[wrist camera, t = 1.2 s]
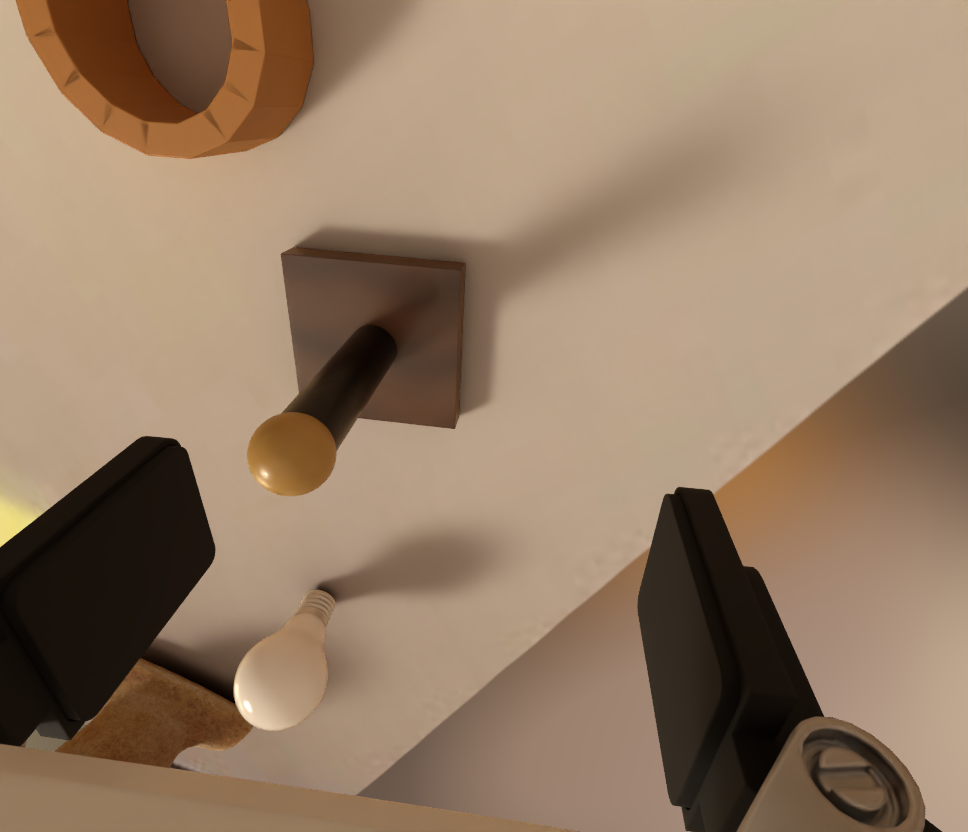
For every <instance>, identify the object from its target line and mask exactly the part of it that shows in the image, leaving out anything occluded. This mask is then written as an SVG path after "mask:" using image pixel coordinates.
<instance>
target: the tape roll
mask: <svg viewBox="0 0 968 832" xmlns="http://www.w3.org/2000/svg"><path fill="white" fill-rule="evenodd" d="M16 3H17V6H18V10H19V13H20V16H21V19H22V23H23V26H24V29H25V32H26V36H27V37H28V39H29V41H30V43H31V44H32V46H33V48H34V49H35V51H36V53H37V54H38V56H39V57H40V59H41V61H42V62H43V64H44V66H45V67H46V69H47V71H48V72H49V74H50V75H51V77H52V79H53V80H54V82H55V84H56V85H57V87H58V89H59V90H60V91H61V93H62V94H63V95H64V96H65V97H66V98H67V99H68V100H69V101H70V102H71V103H72V104H73V105H74V106H75V107H76V108H77V109H78V110H79V111H81V112H82V113H83V114H84V115H85V116H86V117H87V118H88V119H89V120H90V121H91V122H92V123H93V124H94V125H95V126H96V127H97V128H98V129H99V130H100V131H101V132H103V133H105V134H107V135H109V136H111V137H113V138H115V139H117V140H118V141H120V142H122V143H124V144H126V145H128V146H130V147H132V148H134V149H136V150H138V151H140V152H142V153H144V154H146V155H150V156H162V157H175V158H187V159H192V158H199V157H206V156H214V155H221V154H228V153H235V152H243V151H247V150H250V149H252V148H254V147H257V146H259V145H261V144H264V143H266V142H268V141H270V140H273V139H275V138H277V137H278V136H279V135H280V134H281V133H282V132H283V130H284V129H285V128H286V127H287V125H288V124H289V123H290V122H291V120H292V119H293V118H294V116H295V115H296V114H297V113H298V111H299V110H300V109H301V108H302V105H303V102H304V98H305V94H306V90H307V86H308V82H309V78H310V74H311V71H312V67H313V62H314V59H313V47H312V35H311V23H310V11H309V7H308V4H307V2H306V0H226V3H227V10H228V17H229V24H230V31H231V37H232V48H231V53H230V59H229V64H228V70H227V75H226V80H225V83H224V85H223V86H222V88H221V89H220V90H219V92H218V93H217V95H216V96H215V98H214V99H213V101H212V102H211V103H210V105H209V106H208V108H207V109H206V110H205V111H203V112H201V113H196V112H194V111H192V110H190V109H188V108H186V107H184V106H182V105H181V104H179V103H178V102H177V101H176V100H175V99H174V98H173V97H172V95H171V94H170V93H169V92H168V91H167V90H166V89H165V88H164V87H163V86H162V85H161V84H160V83H159V82H158V81H157V80H156V79H155V78H154V76H153V74H152V72H151V71H150V69H149V67H148V65H147V63H146V61H145V59H144V57H143V56H142V54H141V52H140V50H139V48H138V46H137V44H136V40H135V35H134V31H133V26H132V22H131V17H130V13H129V8H128V0H16Z"/></svg>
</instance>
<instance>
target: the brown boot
mask: <svg viewBox="0 0 968 832" xmlns="http://www.w3.org/2000/svg"><path fill="white" fill-rule="evenodd" d="M252 727H253V725H251V724H250V723H249V722H247V721H246V720H245V719H244V718H243V716H242V715H241V714H240V712H239V710H238V708H237V706H236V704H234V703H232V702H230V701H229V700H227V699H225V698H224V697H222V696H220V695H218V694H216V693H214V692H212V691H210V690H208V689H206V688H204V687H203V686H201V685H198V684H196V683H194V682H192V681H190V680H188V679H186V678H184V677H182V676H180V675H178V674H175V673H173V672H171V671H169V670H167V669H165V668H163V667H160V666H158V665H155V664H153V663H150V662H148V661H146V660H144V659H141V658H140V659H139V660H138V662H137V663H136V664H135V666H134V667H133V668H132V670H131V671H130V672H129V674H128V675H127V676H126V678H125V679H124V680H123V682H122V683H121V684H120V686H119V687H118V688H117V690H116V691H115V692H114V693H113V695H112V696H111V697H110V699H109V700H108V701H107V703H106V704H105V706H104V707H103V709H102V710H101V711H100V712H99V713H98V714H97V716H96V717H95V718H94V719H93V720H92V721H91V722H90V723H89V724H88V725H86V726H85V727H84V728H83V729H82V730H81V731H79V732H78V733H77V734H75V736H74V737H73V738H72V740H68V741H66V742H65V743H64V744H63V745H62V746H60V747H59V748H58V749H57V750H56V751H54V752H60V753H67V754H74V755H81V756H88V757H95V758H102V759H109V760H116V761H123V762H130V763H137V764H144V765H151V766H158V767H165V768H170V766H171V765H172V763H173V761H174V759H175V758H176V756H177V755H178V754H179V753H180V752H181V751H183V750H185V749H187V748H188V747H193V746H198V747H202V748H205V749H209V750H220V751H222V750H226V749H229V748H231V747H233V746H235V745H236V744H237V743H238V742H239V741H241V740H242V739H243V738H244V737H245V736H246V735H247V734H248V733H249V732H250V730H251V729H252Z"/></svg>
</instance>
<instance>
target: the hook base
mask: <svg viewBox="0 0 968 832" xmlns="http://www.w3.org/2000/svg"><path fill="white" fill-rule="evenodd" d="M281 259H282V266H283V274H284V282H285V289H286V297H287V305H288V312H289V320H290V327H291V335H292V343H293V350H294V358H295V366H296V373H297V381H298V389H299V393H300V392H301V391H302V390H303V389H304V388H305V387H306V385H307V384H308V383H309V382H310V381H311V380H312V379H313V378H314V377H315V375H316V374H317V373H318V372H319V371H320V370H321V369H322V368H323V367H324V365H325V364H326V363H327V362H328V361H329V360H330V359H331V358H332V357H333V355H334V354H335V353H336V352H337V351H338V350H339V349H340V348H341V347H342V345H343V344H344V343H345V342H346V341H347V340H348V339H349V338H350V337H351V335H352V334H353V333H354V332H355V331H356V330H357V329H359V328H360V327H363V326H366V325H373V326H378V327H381V328H383V329H384V330H386V331H387V332H388V333H389V334H390V335H391V336H392V337H393V339H394V341H395V343H396V347H397V355H396V358H395V360H394V362H393V363H392V365H391V367H390V368H389V370H388V371H387V373H386V374H385V376H384V378H383V379H382V381H381V382H380V384H379V385H378V387H377V389H376V390H375V392H374V393H373V395H372V396H371V398H370V399H369V401H368V403H367V404H366V406H365V407H364V409H363V410H362V412H361V414H360V415H359V417H358V418H363V419H372V420H381V421H390V422H399V423H407V424H416V425H425V426H434V427H443V428H451V429H455V427H456V424H457V421H458V418H459V405H460V381H461V357H462V334H463V310H464V286H465V263H460V262H449V261H438V260H427V259H416V258H405V257H394V256H383V255H372V254H361V253H350V252H339V251H328V250H317V249H306V248H295V247H293V248H291V249H289V250H287V251H285V252H283V253H282V254H281Z"/></svg>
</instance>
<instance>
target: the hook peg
mask: <svg viewBox="0 0 968 832" xmlns="http://www.w3.org/2000/svg"><path fill="white" fill-rule="evenodd" d="M396 355H397V347H396V343H395V341H394V339H393V337H392V336H391V335H390V334H389V333H388V332H387V331H386V330H384V329H383V328H381V327H378V326H373V325H366V326H363V327H360V328H359V329H357V330H356V331H355V332H354V333H353V334H352V335H351V337H350V338H349V339H348V340H347V341H346V342H345V343H344V344H343V345H342V347H341V348H340V349H339V350H338V351H337V352H336V353H335V354H334V355H333V357H332V358H331V359H330V360H329V361H328V362H327V363H326V364H325V365H324V367H323V368H322V369H321V370H320V371H319V372H318V373H317V374H316V375H315V377H314V378H313V379H312V380H311V381H310V382H309V383H308V384H307V385H306V387H305V388H304V389H303V390H302V391H301V392H300V393H299V394H298V396H297V397H296V398H295V399H294V400H293V401H292V402H291V403H290V404H289V406H288V407H287V408H286V409H285V410H284V411H283V412H282V413H281V414H279V415H276V416H273V417H271V418H269V419H268V420H266V421H265V422H264V423H262V424H261V425H260V426H259V427H258V428H257V430H256V431H255V432H254V434H253V435H252V438H251V440H250V442H249V446H248V453H247V459H248V465H249V468H250V471H251V473H252V475H253V476H254V478H255V479H256V481H257V482H258V483H259V484H260V485H261V486H263V487H264V488H265V489H267V490H268V491H270V492H273V493H275V494H278V495H283V496H298V495H303V494H306V493H309V492H311V491H313V490H315V489H316V488H318V487H319V486H321V485H322V484H323V483H324V482H325V481H326V480H327V478H328V477H329V476H330V474H331V472H332V470H333V468H334V465H335V461H336V451H337V450H338V448H339V446H340V445H341V443H342V442H343V440H344V439H345V437H346V435H347V434H348V432H349V431H350V429H351V428H352V426H353V425H354V423H355V421H356V420H357V418H358V417H359V415H360V414H361V412H362V410H363V409H364V407H365V406H366V404H367V403H368V401H369V399H370V398H371V396H372V395H373V393H374V392H375V390H376V389H377V387H378V385H379V384H380V382H381V381H382V379H383V378H384V376H385V374H386V373H387V371H388V370H389V368H390V367H391V365H392V363H393V362H394V360H395V358H396Z"/></svg>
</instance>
